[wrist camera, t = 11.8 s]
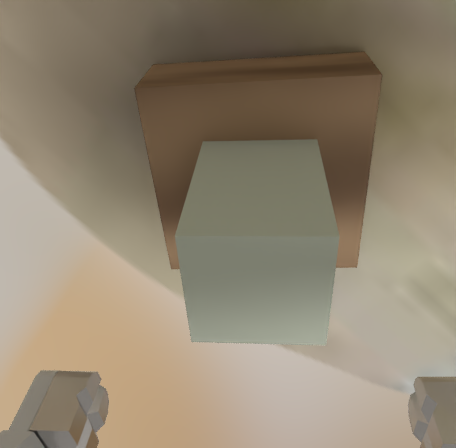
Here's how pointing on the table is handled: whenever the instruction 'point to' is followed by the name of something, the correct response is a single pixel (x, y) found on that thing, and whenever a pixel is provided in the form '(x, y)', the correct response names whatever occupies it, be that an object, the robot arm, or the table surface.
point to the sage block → (258, 244)
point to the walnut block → (264, 125)
